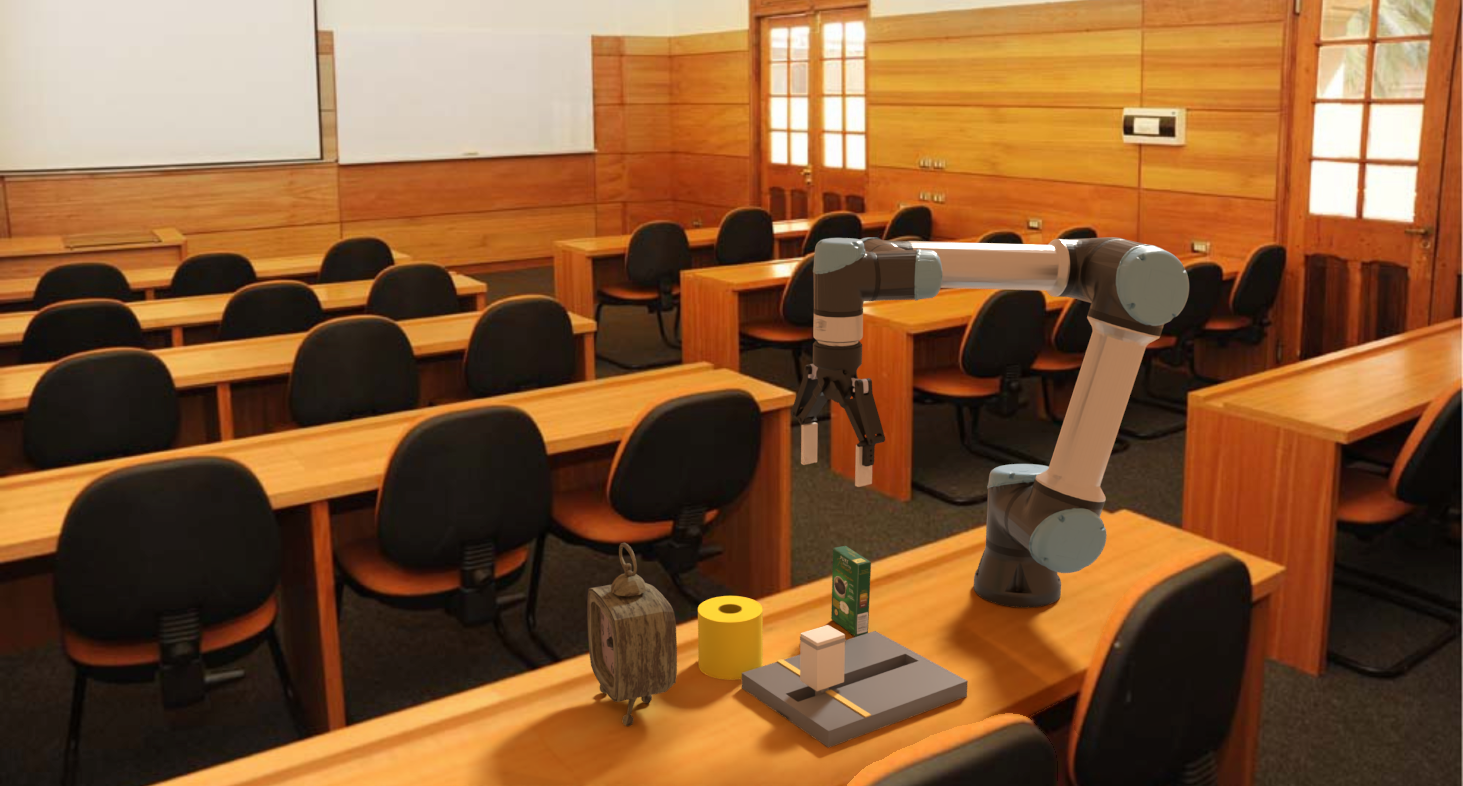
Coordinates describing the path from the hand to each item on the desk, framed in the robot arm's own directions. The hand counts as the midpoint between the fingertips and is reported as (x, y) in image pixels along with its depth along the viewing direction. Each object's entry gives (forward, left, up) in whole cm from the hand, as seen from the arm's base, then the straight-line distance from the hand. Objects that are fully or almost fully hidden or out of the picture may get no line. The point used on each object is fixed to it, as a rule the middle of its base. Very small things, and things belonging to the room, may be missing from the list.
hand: (835, 473), depth 198 cm
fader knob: (+14, +15, -29) cm, 35 cm away
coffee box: (-6, -3, -29) cm, 30 cm away
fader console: (+8, +15, -29) cm, 33 cm away
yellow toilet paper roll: (+18, -3, -29) cm, 34 cm away
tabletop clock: (+37, 0, -29) cm, 47 cm away
